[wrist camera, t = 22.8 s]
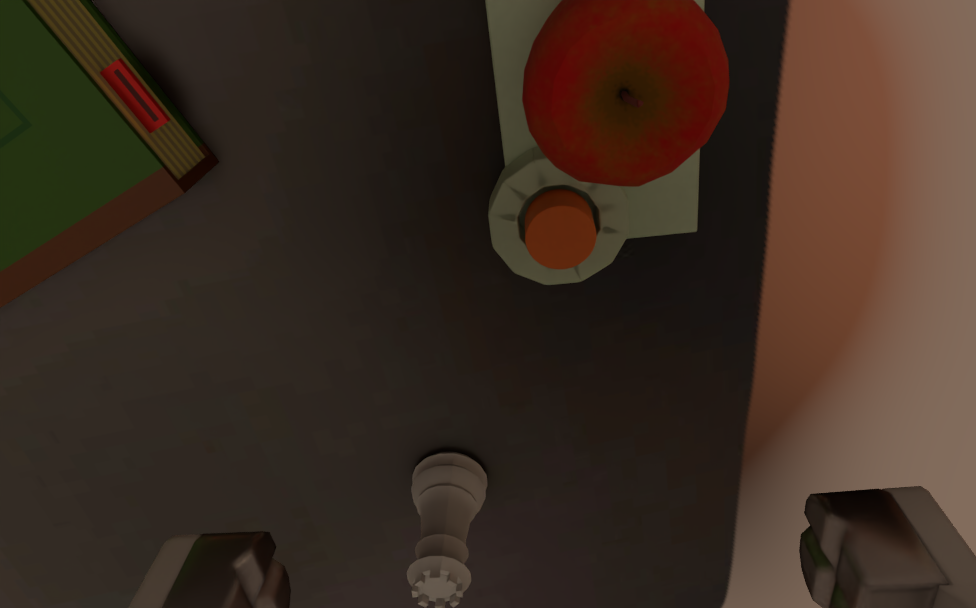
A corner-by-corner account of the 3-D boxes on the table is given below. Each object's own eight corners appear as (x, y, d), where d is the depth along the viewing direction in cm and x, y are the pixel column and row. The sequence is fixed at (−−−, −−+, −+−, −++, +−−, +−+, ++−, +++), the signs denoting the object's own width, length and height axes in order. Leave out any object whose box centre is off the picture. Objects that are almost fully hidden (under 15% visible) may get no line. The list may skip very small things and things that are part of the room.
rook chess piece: (416, 442, 39) (394, 558, 32) (493, 452, 39) (488, 570, 32) (410, 497, 41) (389, 616, 34) (483, 505, 41) (476, 626, 35)
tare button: (593, 247, 29) (598, 266, 27) (527, 253, 29) (528, 273, 28) (590, 185, 27) (594, 201, 26) (521, 192, 28) (521, 209, 26)
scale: (687, 235, 32) (705, 270, 29) (499, 254, 33) (498, 290, 30) (696, -147, 24) (722, -154, 21) (451, -110, 25) (442, -111, 22)
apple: (563, 160, 28) (578, 238, 22) (491, 20, 25) (483, 63, 19) (709, 85, 26) (772, 147, 20) (648, -73, 24) (698, -61, 17)
